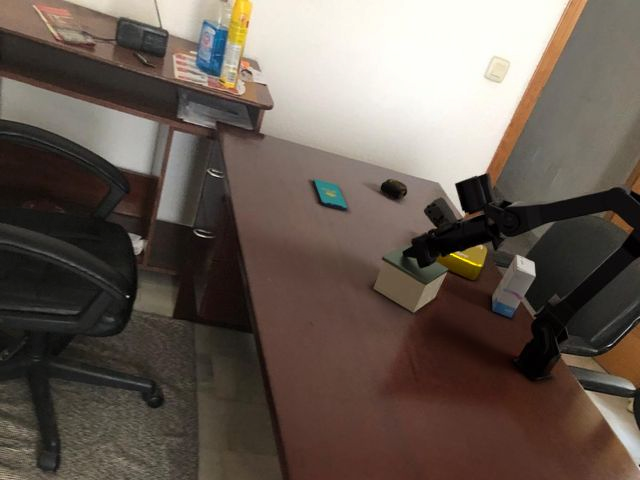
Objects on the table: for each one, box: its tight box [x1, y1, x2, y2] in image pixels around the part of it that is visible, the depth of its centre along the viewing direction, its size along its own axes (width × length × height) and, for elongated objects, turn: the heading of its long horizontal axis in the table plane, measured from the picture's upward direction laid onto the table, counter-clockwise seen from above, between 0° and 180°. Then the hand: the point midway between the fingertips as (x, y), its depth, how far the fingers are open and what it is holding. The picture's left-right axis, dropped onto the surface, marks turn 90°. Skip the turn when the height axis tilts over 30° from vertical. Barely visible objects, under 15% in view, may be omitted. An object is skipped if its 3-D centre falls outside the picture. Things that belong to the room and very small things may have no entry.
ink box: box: [491, 254, 537, 319], centre depth 154 cm, size 9×5×12 cm, turn 168°
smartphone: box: [312, 178, 348, 211], centre depth 176 cm, size 7×1×15 cm
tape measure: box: [380, 178, 408, 201], centre depth 190 cm, size 7×7×4 cm
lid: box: [381, 244, 449, 285], centre depth 143 cm, size 11×12×1 cm
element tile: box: [433, 226, 488, 281], centre depth 168 cm, size 15×15×5 cm
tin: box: [373, 261, 448, 314], centre depth 145 cm, size 11×12×7 cm
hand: (403, 253), depth 143 cm, fingers closed, pressing on lid
